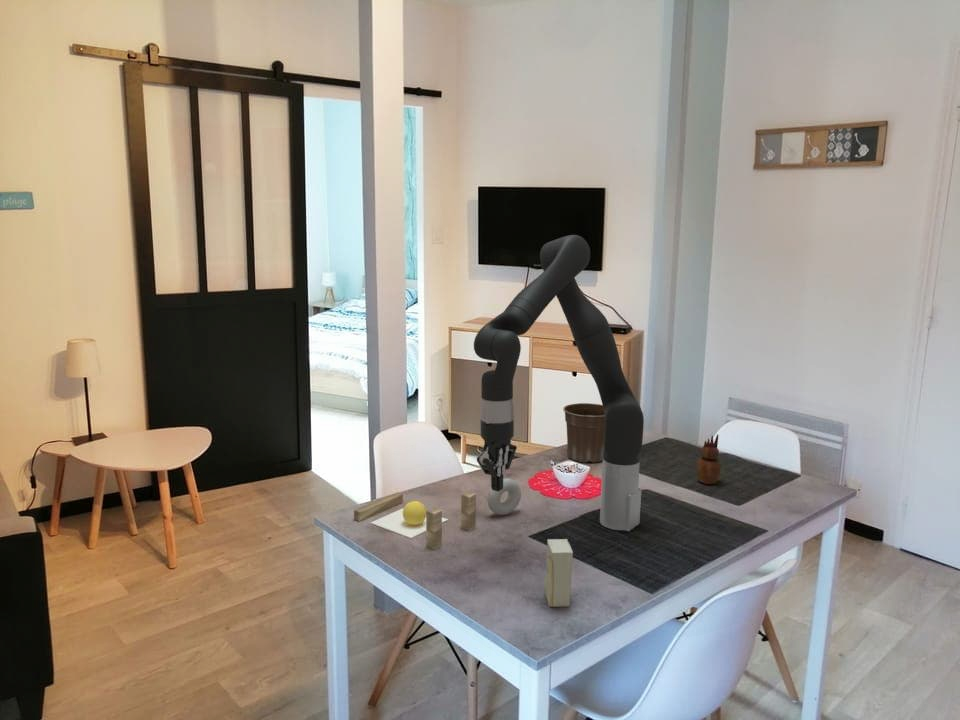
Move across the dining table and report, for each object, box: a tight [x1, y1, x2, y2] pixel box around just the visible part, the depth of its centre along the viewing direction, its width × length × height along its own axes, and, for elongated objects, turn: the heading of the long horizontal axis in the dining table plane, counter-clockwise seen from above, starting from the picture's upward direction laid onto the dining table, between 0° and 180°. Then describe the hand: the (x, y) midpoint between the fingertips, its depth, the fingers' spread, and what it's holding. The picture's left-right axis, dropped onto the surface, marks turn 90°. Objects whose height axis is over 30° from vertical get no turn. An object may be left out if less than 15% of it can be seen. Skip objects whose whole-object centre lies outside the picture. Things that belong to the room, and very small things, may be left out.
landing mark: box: [370, 507, 449, 539], centre depth 192 cm, size 14×14×1 cm
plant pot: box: [563, 402, 605, 464], centre depth 241 cm, size 16×16×16 cm
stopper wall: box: [353, 492, 404, 523], centre depth 198 cm, size 2×16×2 cm, turn 142°
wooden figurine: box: [695, 434, 722, 485], centre depth 220 cm, size 7×6×15 cm
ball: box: [403, 500, 427, 525], centre depth 190 cm, size 6×6×6 cm
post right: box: [460, 491, 477, 532], centre depth 188 cm, size 3×3×9 cm
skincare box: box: [544, 538, 574, 608], centre depth 154 cm, size 6×4×12 cm
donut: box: [486, 477, 522, 516], centre depth 196 cm, size 10×4×10 cm, turn 122°
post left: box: [425, 507, 443, 550], centre depth 178 cm, size 3×3×9 cm
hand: (497, 489), depth 172 cm, fingers closed
